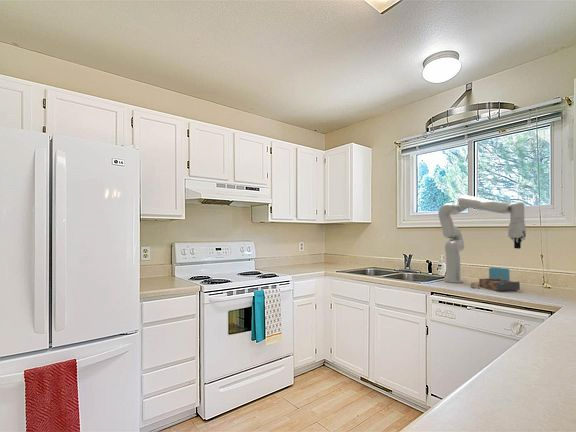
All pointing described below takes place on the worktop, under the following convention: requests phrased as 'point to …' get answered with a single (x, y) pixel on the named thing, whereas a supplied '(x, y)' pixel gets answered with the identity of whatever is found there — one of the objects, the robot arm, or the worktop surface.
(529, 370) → the worktop surface
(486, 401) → the worktop surface
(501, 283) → the tray
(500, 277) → the data package
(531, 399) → the worktop surface
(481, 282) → the dock
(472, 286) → the stand
